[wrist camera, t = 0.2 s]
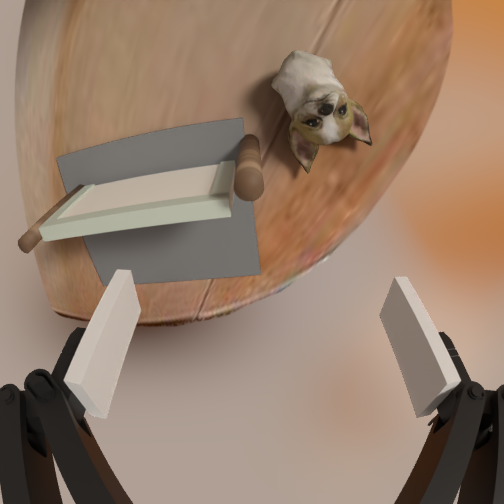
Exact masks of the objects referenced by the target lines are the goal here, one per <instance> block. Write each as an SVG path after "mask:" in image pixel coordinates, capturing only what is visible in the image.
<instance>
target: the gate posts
mask: <svg viewBox="0 0 504 504" xmlns="http://www.w3.org/2000/svg"><path fill="white" fill-rule="evenodd" d="M83 187H84V185H82V184H80V185H78V186H77V187H76V188H75V189H73V190H72V191H71V192H70V193H69V194H67V195H66V196H65V197H64V198H63V199H62V200H60V201H59V202H58V203H57V204H56V205H55V206H54V207H52V208H51V209H50V210H49V211H48V212H47V213H46V214H45V215H44V216H42V217H41V218H40V219H39V220H38V221H37V222H36V223H35V224H34V225H33V226H32V227H31V228H30V229H29V230H28V231H27V232H26V233H25V234H24V235H23V236H22V237H21V238H20V239H19V240H18V246H19V248H20V249H21V250H22V251H23V252H24V253H29V252H30V251H31V250H32V249H33V248H34V247H35V246H36V245H37V244H38V242H39V241H40V240H41V239H42V236H41V234H40V231H39V229H38V228H39V227H40V226H41V225H42V224H43V223H44V222H45V221H46V220H47V219H48V218H49V217H50V216H52V215H53V214H54V213H55V212H56V211H57V210H58V209H59V208H60V207H61V206H62V205H63V204H65V203H66V202H67V201H68V200H69V199H70V198H71V197H72V196H74V195H75V194H76V193H77V192H78V191H79V190H81V189H82V188H83ZM263 191H264V182H263V173H262V164H261V156H260V147H259V141H258V139H257V137H256V136H254V135H250V134H249V135H245V137H243V138H242V139H241V141H240V147H239V154H238V160H237V167H236V174H235V180H234V192H235V194H236V196H237V197H238V198H239V199H241V200H243V201H254V200H257V199H258V198H259V197H260V196H261V195H262V194H263Z"/></svg>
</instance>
